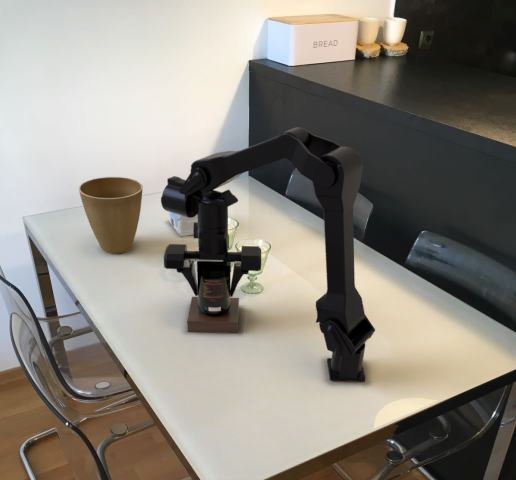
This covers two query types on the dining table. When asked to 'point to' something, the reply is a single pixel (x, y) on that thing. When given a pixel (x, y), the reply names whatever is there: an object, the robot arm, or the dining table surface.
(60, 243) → the dining table surface
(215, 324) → the walnut block
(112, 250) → the plant pot
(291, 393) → the dining table surface
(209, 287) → the supplement container
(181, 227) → the light bulb box
